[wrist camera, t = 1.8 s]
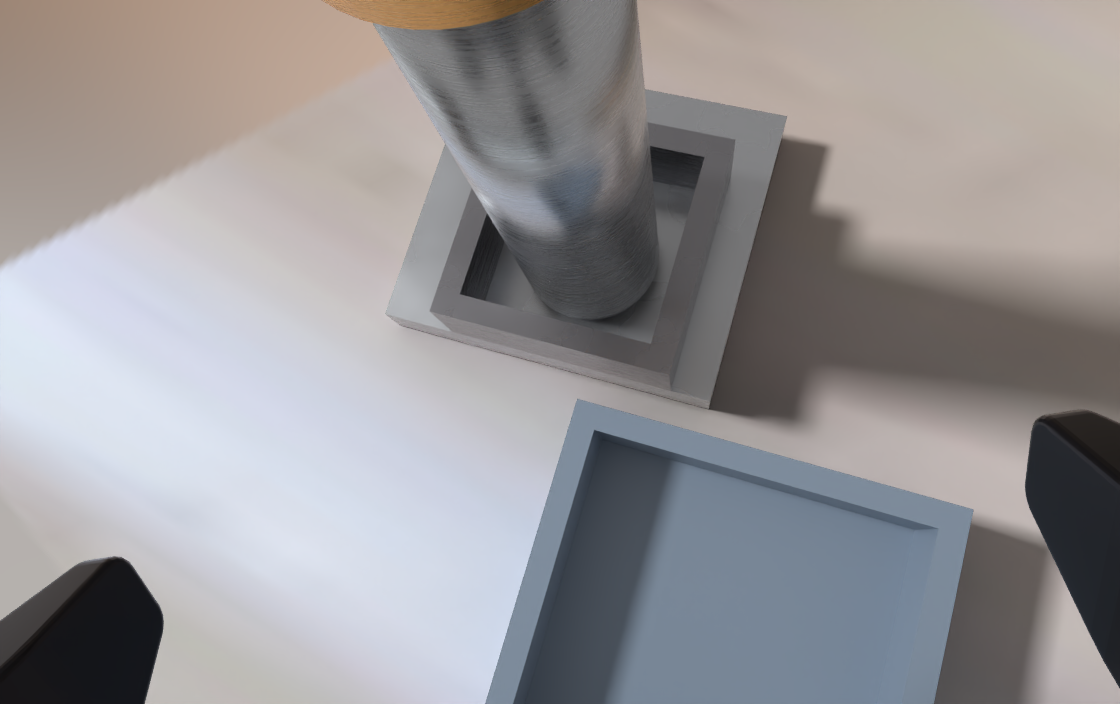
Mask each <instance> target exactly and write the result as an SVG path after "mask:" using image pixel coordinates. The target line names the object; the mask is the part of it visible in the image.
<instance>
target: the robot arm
mask: <svg viewBox="0 0 1120 704" xmlns="http://www.w3.org/2000/svg"><path fill="white" fill-rule="evenodd" d="M1025 491H1026V497H1027V502H1028V505H1029V508H1030V510H1031V512H1032V515H1033V517H1034V519H1035V521H1036V523H1037V525H1038V527H1039V529H1040V531H1041V533H1042V535H1043V538H1044V540H1045V542H1046V544H1047V546H1048V548H1049V550H1050V552H1051V554H1052V556H1053V558H1054V560H1055V563H1056V565H1057V567H1058V569H1059V571H1060V573H1061V575H1062V577H1063V579H1064V581H1065V583H1066V585H1067V588H1068V590H1069V592H1070V594H1071V596H1072V598H1073V600H1074V602H1075V604H1076V606H1077V608H1078V610H1079V613H1080V615H1081V617H1082V619H1083V621H1084V623H1085V625H1086V627H1087V629H1088V631H1089V633H1090V635H1091V637H1092V639H1093V641H1094V643H1095V645H1096V647H1097V649H1098V651H1099V653H1100V655H1101V657H1102V659H1103V661H1104V662H1105V664H1106V666H1107V668H1108V669H1109V671H1110V673H1111V674H1112V676H1113V678H1114V679H1115V681H1116V683H1117V685H1118V686H1119V688H1120V423H1118V422H1116V421H1113V420H1111V419H1109V418H1106V417H1104V416H1102V415H1099V414H1097V413H1094V412H1092V411H1089V410H1074V411H1067V412H1061V413H1054V414H1048V415H1043V416H1041V417H1039V418H1038V419H1037V420H1036V421H1035V423H1034V425H1033V428H1032V431H1031V439H1030V447H1029V456H1028V464H1027V472H1026V480H1025ZM163 624H164V621H163V614H162V611H161V608H160V606H159V604H158V603H157V601H156V600H155V598H154V597H153V595H152V594H151V592H150V591H149V590H148V588H147V587H146V585H145V584H144V582H143V581H142V579H141V578H140V576H139V575H138V573H137V572H136V570H135V569H134V567H133V566H132V565H131V563H130V562H129V561H127V560H125V559H124V558H122V557H116V556H114V557H107V558H100V559H93V560H88V561H84V562H81V563H79V564H77V565H75V566H74V567H72V568H71V569H70V570H68V571H67V572H66V573H64V574H63V575H62V576H60V577H59V578H57V579H56V580H55V581H54V582H52V583H51V584H49V585H48V586H47V587H45V588H44V589H43V590H42V591H40V592H39V593H37V594H36V595H34V596H33V597H32V598H30V599H29V600H28V601H26V602H25V603H24V604H22V605H21V606H19V607H18V608H17V609H15V610H14V611H13V612H11V613H10V614H9V615H7V616H6V617H5V618H3V619H2V620H1V621H0V704H145V700H146V696H147V692H148V688H149V685H150V681H151V677H152V673H153V669H154V665H155V661H156V657H157V653H158V649H159V645H160V642H161V638H162V634H163Z"/></svg>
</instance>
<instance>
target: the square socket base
mask: <svg viewBox="0 0 1120 704" xmlns="http://www.w3.org/2000/svg"><path fill="white" fill-rule="evenodd" d="M645 99H646V110H647V121H648V132H649V143H650V154H651V165H652V176H653V187H654V199H655V210H656V221H657V232H658V243H659V262H658V266H657V271H656V273H655V276H654V279H653V280H652V282H651V284H650V286H649V288H648V289H647V290H646V292H645V293H644V294H643V295H642V296H641V298H640V299H639V300H638V301H636V302H635V303H634V304H633V305H632V306H630V307H629V308H627V309H625V310H624V311H622V312H620V313H618V314H615V315H612V316H609V317H606V318H601V319H591V320H587V319H577V318H572V317H569V316H566V315H563V314H561V313H559V312H557V311H555V310H553V309H552V308H550V307H549V306H547V305H546V304H545V303H544V302H543V301H542V300H541V299H540V298H539V297H538V295H537V294H536V293H535V291H534V290H533V288H532V286H531V285H530V283H529V281H528V280H527V278H526V277H525V275H524V273H523V272H522V270H521V268H520V267H519V265H518V263H517V262H516V260H515V258H514V257H513V255H512V253H511V252H510V250H509V248H508V247H507V245H506V243H505V242H504V240H503V238H502V237H501V235H500V233H499V232H498V230H497V228H496V227H495V225H494V224H493V222H492V220H491V219H490V217H489V215H488V214H487V212H486V210H485V209H484V207H483V205H482V204H481V202H480V200H479V199H478V197H477V195H476V194H475V192H474V190H473V189H472V187H471V185H470V184H469V182H468V180H467V179H466V177H465V175H464V174H463V172H462V171H461V169H460V167H459V166H458V164H457V162H456V161H455V159H454V157H453V156H452V154H451V152H450V151H449V149H448V147H447V146H446V144H445V146H444V149H443V152H442V154H441V157H440V160H439V163H438V166H437V169H436V171H435V174H434V177H433V180H432V183H431V186H430V188H429V191H428V194H427V197H426V200H425V203H424V205H423V208H422V211H421V214H420V217H419V220H418V222H417V225H416V228H415V231H414V234H413V236H412V239H411V242H410V245H409V248H408V251H407V253H406V256H405V259H404V262H403V265H402V268H401V270H400V273H399V276H398V279H397V282H396V285H395V287H394V290H393V293H392V296H391V299H390V302H389V304H388V307H387V310H386V313H385V314H386V315H387V316H389V317H390V318H391V319H393V320H394V321H395V322H397V323H398V324H399V325H401V326H405V327H408V328H412V329H416V330H419V331H423V332H427V333H430V334H434V335H438V336H442V337H445V338H449V339H453V340H456V341H460V342H464V343H467V344H471V345H475V346H478V347H482V348H486V349H489V350H493V351H497V352H500V353H504V354H508V355H511V356H515V357H519V358H522V359H526V360H530V361H533V362H537V363H541V364H544V365H548V366H552V367H555V368H559V369H563V370H566V371H570V372H574V373H577V374H581V375H585V376H588V377H592V378H596V379H599V380H603V381H607V382H610V383H614V384H618V385H621V386H625V387H629V388H632V389H636V390H640V391H644V392H647V393H651V394H655V395H658V396H662V397H666V398H669V399H673V400H677V401H680V402H684V403H688V404H691V405H695V406H699V407H702V408H706V409H709V406H710V402H711V398H712V395H713V391H714V387H715V384H716V380H717V376H718V373H719V369H720V365H721V361H722V358H723V354H724V350H725V347H726V343H727V339H728V336H729V332H730V328H731V324H732V321H733V317H734V313H735V310H736V306H737V302H738V299H739V295H740V291H741V288H742V284H743V280H744V276H745V273H746V269H747V265H748V262H749V258H750V254H751V251H752V247H753V243H754V239H755V236H756V232H757V228H758V225H759V221H760V217H761V214H762V210H763V206H764V203H765V199H766V195H767V191H768V188H769V184H770V180H771V177H772V173H773V169H774V166H775V162H776V158H777V154H778V151H779V147H780V143H781V140H782V136H783V132H784V127H785V123H786V119H787V116H782V115H777V114H772V113H767V112H761V111H756V110H751V109H746V108H740V107H735V106H730V105H725V104H719V103H714V102H709V101H704V100H698V99H693V98H688V97H683V96H677V95H672V94H667V93H662V92H656V91H651V90H646V89H645Z"/></svg>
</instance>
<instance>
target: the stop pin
mask: <svg viewBox="0 0 1120 704" xmlns="http://www.w3.org/2000/svg"><path fill="white" fill-rule="evenodd" d="M322 1H324V2H326V3H327V4H329V5H331V6H332V7H334V8H336V9H337V10H339V11H341V12H344V13H347V14H349V15H351V16H354V17H356V18H359V19H361V20H364V21H368V22H372V23H373V25H374V26H375V28H376V30H377V31H378V33H379V35H380V36H381V38H382V39H383V41H384V43H385V45H386V46H387V48H388V50H389V51H390V53H391V55H392V56H393V58H394V60H395V61H396V63H397V64H398V66H399V68H400V69H401V71H402V73H403V74H404V76H405V78H406V79H407V81H408V83H409V84H410V86H411V88H412V89H413V91H414V93H415V94H416V96H417V98H418V99H419V101H420V103H421V104H422V106H423V108H424V109H425V111H426V113H427V114H428V116H429V118H430V119H431V121H432V122H433V124H434V126H435V127H436V129H437V131H438V132H439V134H440V136H441V137H442V139H443V141H444V142H445V144H446V146H447V147H448V149H449V151H450V152H451V154H452V156H453V157H454V159H455V161H456V162H457V164H458V166H459V167H460V169H461V171H462V172H463V174H464V175H465V177H466V179H467V180H468V182H469V184H470V185H471V187H472V189H473V190H474V192H475V194H476V195H477V197H478V199H479V200H480V202H481V204H482V205H483V207H484V209H485V210H486V212H487V214H488V215H489V217H490V219H491V220H492V222H493V224H494V225H495V227H496V228H497V230H498V232H499V233H500V235H501V237H502V238H503V240H504V242H505V243H506V245H507V247H508V248H509V250H510V252H511V253H512V255H513V257H514V258H515V260H516V262H517V263H518V265H519V267H520V268H521V270H522V272H523V273H524V275H525V277H526V278H527V280H528V281H529V283H530V285H531V286H532V288H533V290H534V291H535V293H536V294H537V295H538V297H539V298H540V299H541V300H542V301H543V302H544V303H545V304H546V305H547V306H549V307H550V308H552V309H553V310H555V311H557V312H559V313H561V314H563V315H566V316H569V317H572V318H577V319H587V320H591V319H601V318H606V317H609V316H612V315H615V314H618V313H620V312H622V311H624V310H625V309H627V308H629V307H630V306H632V305H633V304H634V303H635V302H636V301H638V300H639V299H640V298H641V296H642V295H643V294H644V293H645V292H646V290H647V289H648V288H649V286H650V284H651V282H652V280H653V279H654V276H655V273H656V271H657V266H658V262H659V243H658V232H657V221H656V210H655V199H654V187H653V176H652V165H651V154H650V143H649V132H648V121H647V110H646V99H645V88H644V77H643V66H642V54H641V43H640V32H639V21H638V10H637V0H322Z"/></svg>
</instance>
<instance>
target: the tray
mask: <svg viewBox="0 0 1120 704" xmlns="http://www.w3.org/2000/svg"><path fill="white" fill-rule="evenodd" d="M972 515H973V509H970V508H966V507H963V506H959V505H955V504H952V503H948V502H945V501H941V500H938V499H934V498H930V497H927V496H923V495H920V494H916V493H912V492H909V491H905V490H902V489H898V488H895V487H891V486H887V485H884V484H880V483H877V482H873V481H870V480H866V479H862V478H859V477H855V476H852V475H848V474H844V473H841V472H837V471H834V470H830V469H827V468H823V467H819V466H816V465H812V464H809V463H805V462H801V461H798V460H794V459H791V458H787V457H784V456H780V455H776V454H773V453H769V452H766V451H762V450H759V449H755V448H751V447H748V446H744V445H741V444H737V443H733V442H730V441H726V440H723V439H719V438H716V437H712V436H708V435H705V434H701V433H698V432H694V431H690V430H687V429H683V428H680V427H676V426H673V425H669V424H665V423H662V422H658V421H655V420H651V419H648V418H644V417H640V416H637V415H633V414H630V413H626V412H622V411H619V410H615V409H612V408H608V407H605V406H601V405H597V404H594V403H590V402H587V401H583V400H579V399H577V401H576V405H575V408H574V411H573V415H572V418H571V421H570V425H569V428H568V431H567V435H566V438H565V441H564V444H563V448H562V451H561V454H560V458H559V461H558V464H557V468H556V471H555V474H554V478H553V481H552V484H551V488H550V491H549V494H548V497H547V501H546V504H545V507H544V511H543V514H542V517H541V521H540V524H539V527H538V531H537V534H536V537H535V541H534V544H533V547H532V550H531V554H530V557H529V560H528V564H527V567H526V570H525V574H524V577H523V580H522V584H521V587H520V590H519V594H518V597H517V600H516V604H515V607H514V610H513V613H512V617H511V620H510V623H509V627H508V630H507V633H506V637H505V640H504V643H503V647H502V650H501V653H500V657H499V660H498V663H497V666H496V670H495V673H494V676H493V680H492V683H491V686H490V690H489V693H488V696H487V700H486V703H485V704H934V701H935V696H936V691H937V686H938V681H939V676H940V671H941V666H942V662H943V657H944V652H945V647H946V642H947V637H948V632H949V627H950V622H951V617H952V613H953V608H954V603H955V598H956V593H957V588H958V583H959V578H960V573H961V569H962V564H963V559H964V554H965V549H966V544H967V539H968V534H969V529H970V524H971V520H972Z"/></svg>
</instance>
